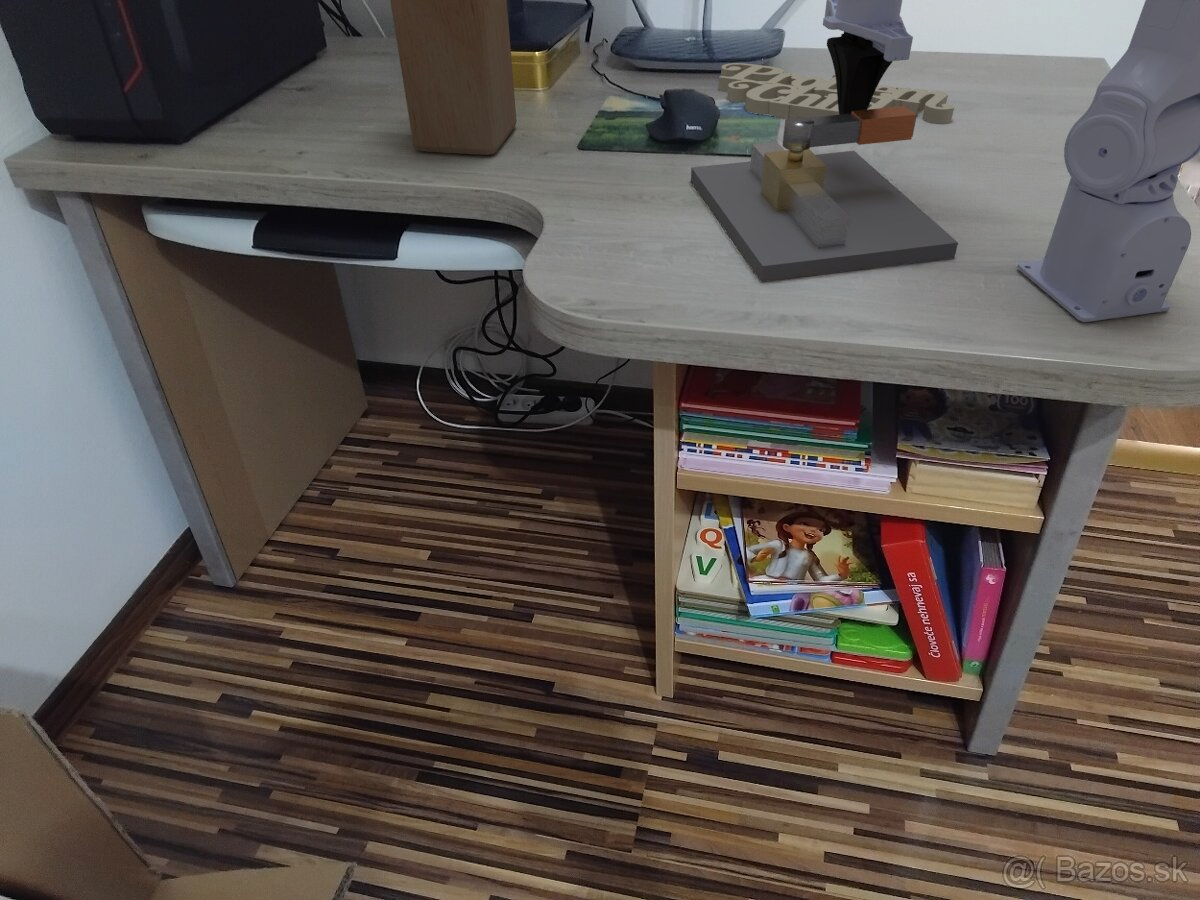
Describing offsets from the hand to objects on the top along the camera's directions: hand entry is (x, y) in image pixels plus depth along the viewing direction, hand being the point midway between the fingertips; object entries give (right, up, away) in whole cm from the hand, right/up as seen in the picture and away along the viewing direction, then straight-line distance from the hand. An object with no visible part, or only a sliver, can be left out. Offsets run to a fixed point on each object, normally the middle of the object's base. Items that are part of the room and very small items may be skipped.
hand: (851, 117), depth 87 cm
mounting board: (-4, -10, -2) cm, 11 cm away
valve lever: (-2, -4, -5) cm, 7 cm away
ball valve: (-6, -9, -3) cm, 12 cm away
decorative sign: (+3, +9, +22) cm, 24 cm away
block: (-40, +3, +16) cm, 44 cm away
